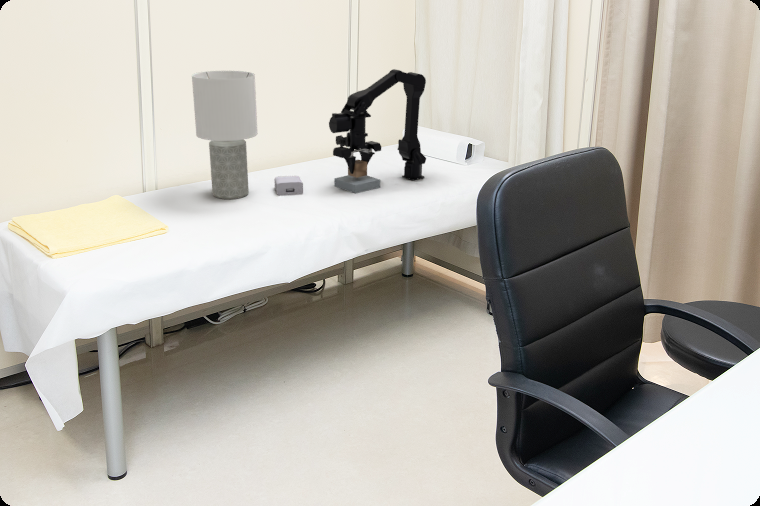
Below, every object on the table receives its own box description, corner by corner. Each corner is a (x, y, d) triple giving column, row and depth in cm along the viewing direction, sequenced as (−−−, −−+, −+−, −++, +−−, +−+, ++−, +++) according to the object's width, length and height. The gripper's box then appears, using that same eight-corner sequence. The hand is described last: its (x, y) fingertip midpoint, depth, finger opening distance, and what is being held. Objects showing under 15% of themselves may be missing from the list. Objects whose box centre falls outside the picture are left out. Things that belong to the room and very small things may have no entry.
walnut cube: (358, 172, 275) (358, 159, 273) (367, 175, 272) (367, 162, 270) (347, 174, 272) (347, 161, 270) (356, 177, 269) (356, 164, 267)
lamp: (238, 183, 276) (232, 69, 261) (271, 195, 262) (267, 75, 247) (189, 193, 262) (179, 74, 247) (222, 206, 249) (214, 81, 234)
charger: (297, 183, 278) (303, 194, 264) (273, 184, 276) (277, 196, 262) (297, 171, 276) (302, 181, 262) (272, 172, 274) (276, 183, 260)
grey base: (359, 180, 281) (359, 172, 280) (380, 187, 273) (380, 179, 272) (334, 186, 274) (334, 178, 273) (355, 193, 266) (355, 185, 265)
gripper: (362, 123, 277) (362, 164, 283) (323, 129, 266) (323, 172, 271) (382, 128, 270) (381, 169, 275) (342, 135, 258) (343, 178, 264)
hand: (357, 172), depth 272 cm, fingers closed on walnut cube, 5 cm apart
